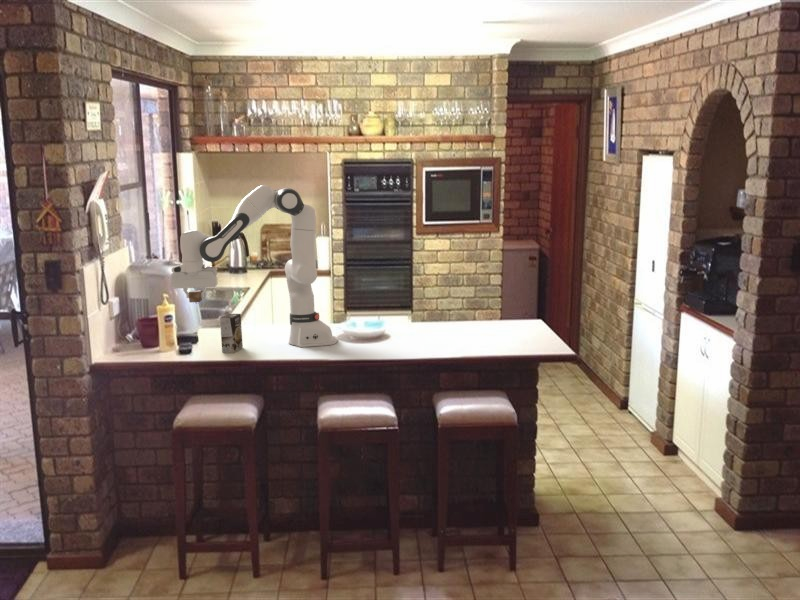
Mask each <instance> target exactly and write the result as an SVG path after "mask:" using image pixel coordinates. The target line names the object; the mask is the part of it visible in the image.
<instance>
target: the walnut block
mask: <svg viewBox="0 0 800 600" xmlns="http://www.w3.org/2000/svg"><path fill="white" fill-rule="evenodd" d="M188 293H189V298H188V302H189V303H200V302H201V301H203V298H200V293H202V289H201V290H200V289H199V290H190V291H188Z"/></svg>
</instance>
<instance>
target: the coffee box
mask: <svg viewBox="0 0 800 600" xmlns="http://www.w3.org/2000/svg"><path fill="white" fill-rule="evenodd" d="M219 321H220V323H219V324H220V325H219V326H220V337H221V339H220V340H221V341H220V342H221V352H222V353H228V354H229V353H230V354H235V353H237V352H238V351H240V350H242V349H243V348H244V347H243V331H242V330H243V329H242V316H241V313H227V314H224V315H223V316H220V318H219Z"/></svg>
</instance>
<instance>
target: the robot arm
mask: <svg viewBox="0 0 800 600" xmlns="http://www.w3.org/2000/svg"><path fill="white" fill-rule="evenodd" d="M273 208H275V209H277V210H278V211H280V212H282V213H285V214H288V215H290V218H291V226H290V227H291V228H290V229H291V231H290V243H289V245H290V251H291V253H290V254H291V259H289V260H287V262H286V263H285V265H284V272H285V278H286V284H287V289H288V294H289V306H290V313H289V324H290V335H289V339H288V344H289V345H292V346H295V347H296V346H297V347H298V348H299V347H300V348H308V347H310V348H311V347H319V346H321V347H323V346H333V345H335V344H337V342H338V338H337V337H336V336H334V335H333V332H332V329H331V327H330V326H329V325H328V324H326V323H325V322H323V321H321V320H320V313H319V312H316V311H315V296H314V292H313V289H312V284H313V283H315V281H316V280H317V278H318V270H317V263H316V262H317V259H316V252H315V251H316V250H315V249H316V248H315V246H316V231H317V230H316V229H317V220H316V219H317V218H316V217H317V216H316V210H315V209H314V208H313V206H311V205H308V204H304V201H303V200H302V197H301V195H300V194H299V192H297V190H295V189H294V188H290V187H283V188H280V189H275V190H274V189H273V188H271V186H268V185H267V184H262V185H261V184H260V186H257V187H256V188H255V189H253V190H252V191H250V192H249V193H248V194H247V195H246V196H245V197H244V198H243V199H241V201H240V202H239V203H238V205H237V206H236V208H235V209H234V212H233V215H232V217H231V218H230V219H231V220H230V221H229V222H228V223H227V224H226V225H225V226H224V227H223V228H222V229H221V230H220V231H219V232H218V233H217V234H216V235H209V234H206V233H204V232H202V231H200V230H198V229H190V230H187V231H184V232H182V234H181V235H180V242H179V244H180V246H179V247H180V252H181V257H182V258H181V263H179V264H178V265H177V264H176V265H175V266H173V267H171V275H170V280H169V281H170V287H171V288H172V290H173V289H183V292H184V294H185V295H186V299H189V291H188V289H196V288H197V289H199V288H200V289H201V293H200V298H202V299H203V298H205V293H206V291H207V288H215V287H217V286H218V284H219V282H218V278H217V275H218V271H217V268H216V267H215V266H211V265H210V266H205V265H204V263H203V260H204V261H207V262H210V263H215V262H218V261H219V260H221V259H222V257H223V256H224V253H225V252H226V248H227V247H228V246H229V244H230V243H232V241H234V240H235V238H236V237H238V235H240V233H241V232H243V231H244V230H245V229H247V228H248V227H250V226H251V225H253V224H255V223H256V222H257V221H258V220H259V219H261V218H262V217H264V215H265V214H266V213H267V212H268V211H270V210H271V209H273Z"/></svg>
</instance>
